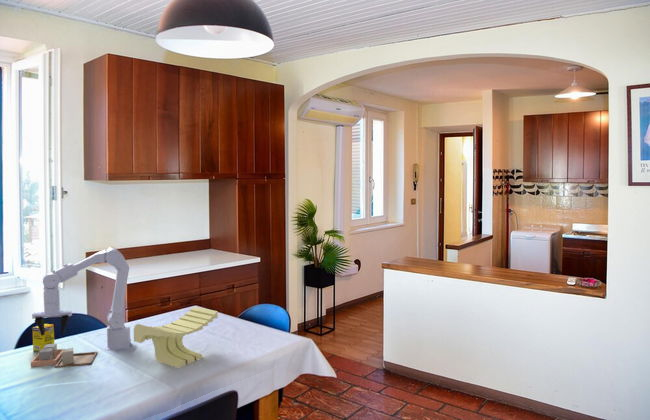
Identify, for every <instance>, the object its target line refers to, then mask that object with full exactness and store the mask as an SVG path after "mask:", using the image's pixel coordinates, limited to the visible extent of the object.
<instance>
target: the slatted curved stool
mask: <svg viewBox="0 0 650 420" xmlns="http://www.w3.org/2000/svg"><path fill="white" fill-rule="evenodd" d="M218 318H219V317H218V311H217V310H213V309H208V308H204V307H201V306H200V307H199V306H196V307H193V308H191V309H190V310H189V311H187V312H185V313H184V315H183V316H180V317H179V319H176V320H174V321H172V322H171V323H167V324H164V325H161V326H158V325H157V326H148V325H144V324H140V323H137V324H136V325H134V327H133V342H136V343H139V344H142V343H144V342H145V341H146V340H147V341H148V340H152V345H153V346H154V356H155V360H156V362H158V363H162V364H165V365H168V366H170V365H171V366H170V367H173V366H175V367H174V368H176V367H178V368H177V369H179V367H180V368H182V367H184V365H185V366H186V365H189V363H190V364H192V363H194V362H195V361H196V360H197V361H199V360H202V359H203V358H204V357H203V355H202V353H199V352H195V351H194V350H190V349H189V348H187V347H185V345H184V344H183V339H184V336H186V335H188V336H189V335H190V334H192V333H195V332H199V331H201V330H203V329H204V327H207V326H209V323H213V321H214V320H213V319H218ZM201 358H202V359H201ZM198 359H199V360H198ZM191 362H192V363H191ZM181 366H182V367H181Z"/></svg>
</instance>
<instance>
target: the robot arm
mask: <svg viewBox="0 0 650 420" xmlns="http://www.w3.org/2000/svg"><path fill="white" fill-rule="evenodd" d="M105 263H107V264H108V265H111V266H113V267H114V268H115V269H116V276H115V284H114V289H113V295H112V302H111V306H110V310H109V312H108V314H107V316H106V320H107V323H108V325H107V327H106V337H107V339H106V340H107V341H106V343H107V346H106V347H105V351H110V350H114V351H115V350H124V349H125V350H126V349H129V348H130V345H131V341H132V339H131V327H130V326H125V318H124V305H125V300H126V299H125V298H126V293H127V292H126V291H127V285H128V279H129V271H130V266H129V264H128V262H127V260H126V259H125V257H124V255H123V253H121V252H120V251H119V250H118V249H117V248H115V247H111V246H110V247H108V248H106V249H103V250H100V251H97V252H95V253H94V254H92V255H90V256H88V257H86V258H84V259H83V260H81V261H79V262H77V263H75V264H73V263H64V264H63V266H62V267H60V268H57V269H56V270H55V269H53V270H52V271H51V272H48V273H46V274H45V275H44V276H43V278H42V284H43V309H44V310H43V311H40V312H33V313H32V315H31V318H32V320H33V319H34V323H35V324H36V326H38V327H39V330H40V332H41V336H42V335H44V334H45V329H44V324H45V319H46V318H59V317H60V325H61V335H65V332H66V326H67V323H68V322H69V318H70V317H72V316H73V311H72V310H61V303H60V290H59V284H61V283H64V282H67V281H68V280H71V279H73V278H74V277H76V276H78V273H79V272H80V271H81V270H84V269H87V268H88V267H90V266H92V265H95V264H105Z"/></svg>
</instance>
